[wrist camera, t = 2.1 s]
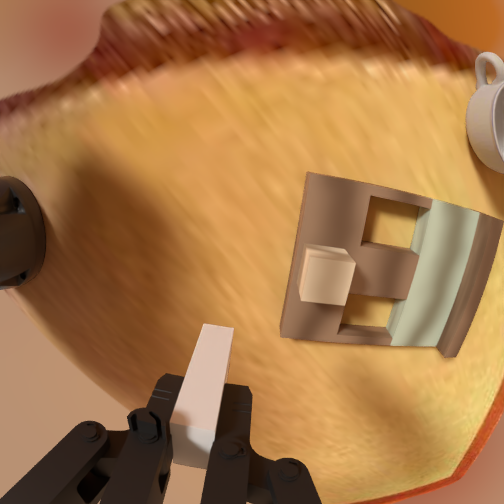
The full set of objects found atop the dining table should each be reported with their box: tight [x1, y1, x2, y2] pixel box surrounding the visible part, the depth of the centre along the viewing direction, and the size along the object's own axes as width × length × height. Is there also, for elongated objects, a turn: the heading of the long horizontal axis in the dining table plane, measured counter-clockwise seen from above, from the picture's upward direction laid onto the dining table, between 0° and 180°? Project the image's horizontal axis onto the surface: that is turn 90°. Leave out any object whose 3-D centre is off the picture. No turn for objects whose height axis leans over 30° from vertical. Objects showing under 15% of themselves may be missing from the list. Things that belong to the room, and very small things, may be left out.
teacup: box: [466, 52, 504, 174], centre depth 22 cm, size 14×11×8 cm
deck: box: [280, 172, 504, 358], centre depth 29 cm, size 22×17×5 cm
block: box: [297, 243, 356, 306], centre depth 27 cm, size 4×4×4 cm
